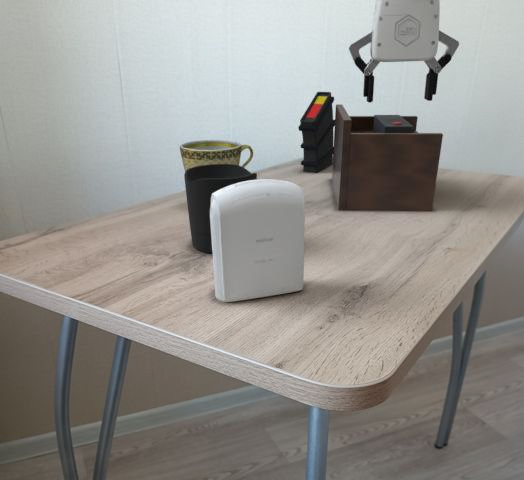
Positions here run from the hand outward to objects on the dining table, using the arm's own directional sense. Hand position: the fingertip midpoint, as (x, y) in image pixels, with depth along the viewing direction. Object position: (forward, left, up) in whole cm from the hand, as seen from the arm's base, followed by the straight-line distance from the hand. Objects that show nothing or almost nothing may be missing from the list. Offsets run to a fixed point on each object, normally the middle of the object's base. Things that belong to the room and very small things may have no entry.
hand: (398, 100), depth 92 cm
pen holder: (+27, +29, -16) cm, 42 cm away
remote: (+1, 0, -6) cm, 6 cm away
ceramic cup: (+30, +8, -16) cm, 34 cm away
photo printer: (+21, +45, -16) cm, 52 cm away
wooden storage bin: (+2, 0, -16) cm, 16 cm away
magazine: (+13, -22, -16) cm, 30 cm away
